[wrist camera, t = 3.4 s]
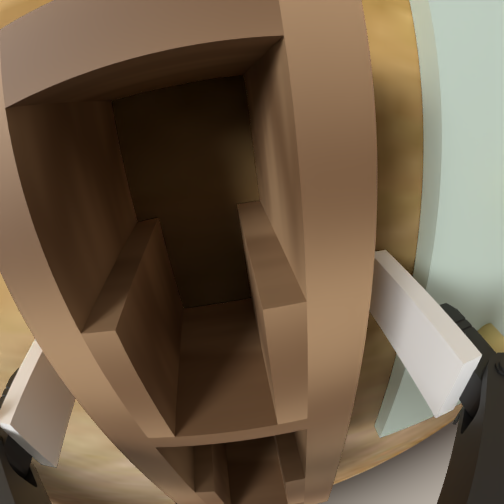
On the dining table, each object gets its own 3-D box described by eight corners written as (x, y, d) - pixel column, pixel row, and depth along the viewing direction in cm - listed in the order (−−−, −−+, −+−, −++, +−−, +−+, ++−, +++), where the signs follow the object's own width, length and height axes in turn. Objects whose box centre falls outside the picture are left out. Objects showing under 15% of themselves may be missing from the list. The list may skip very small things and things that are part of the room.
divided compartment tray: (304, 418, 17) (327, 500, 12) (194, 435, 17) (197, 519, 12) (277, 30, 8) (352, -42, 3) (71, 72, 8) (-48, 63, 3)
